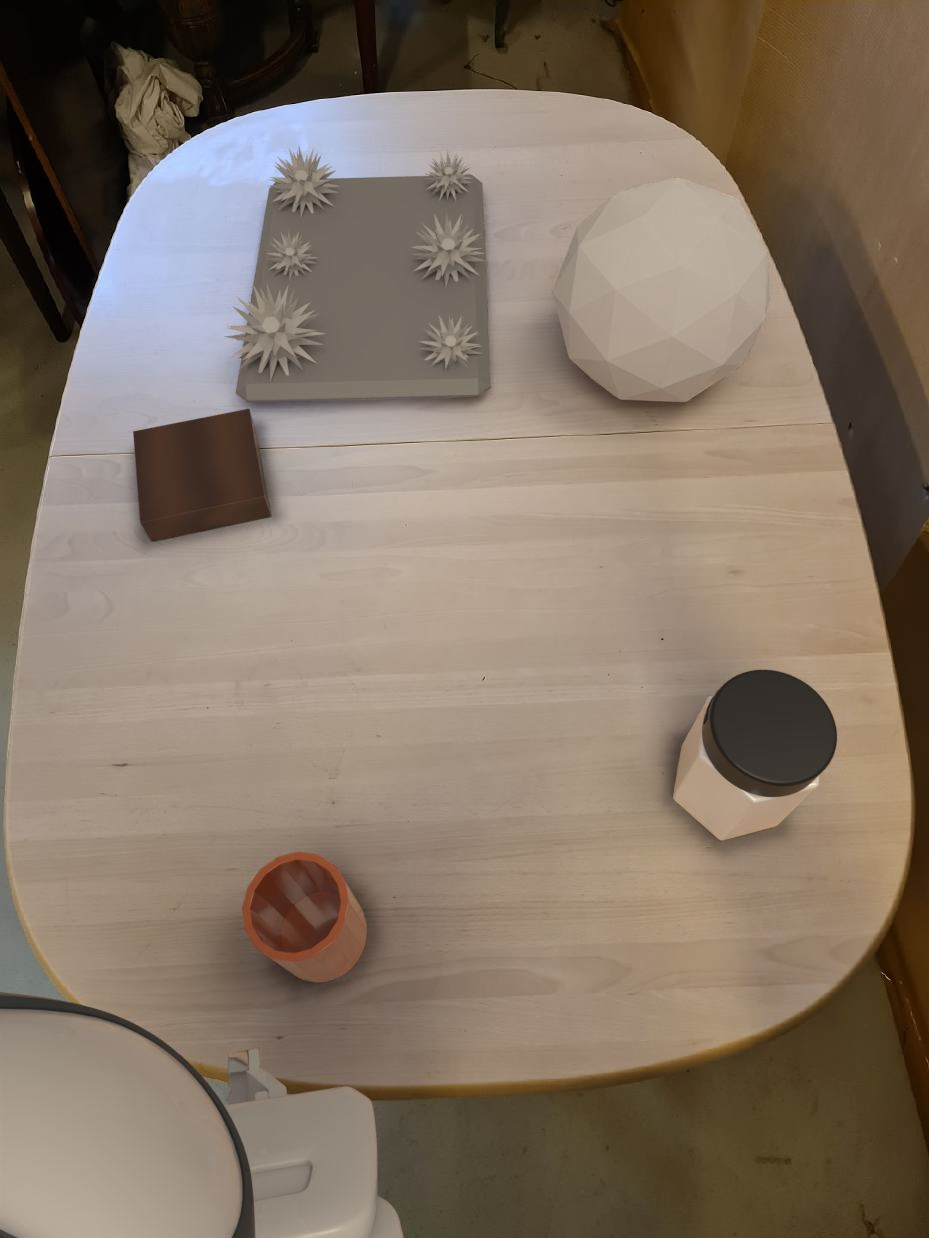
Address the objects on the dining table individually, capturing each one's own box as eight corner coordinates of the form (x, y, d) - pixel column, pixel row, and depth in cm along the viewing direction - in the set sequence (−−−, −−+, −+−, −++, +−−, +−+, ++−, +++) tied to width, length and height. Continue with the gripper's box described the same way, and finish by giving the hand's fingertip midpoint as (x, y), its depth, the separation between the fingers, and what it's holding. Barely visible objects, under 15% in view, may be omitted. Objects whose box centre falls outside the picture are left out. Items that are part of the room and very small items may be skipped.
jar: (760, 723, 68) (810, 654, 58) (804, 821, 64) (867, 765, 54) (653, 749, 67) (684, 684, 57) (692, 850, 63) (733, 800, 53)
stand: (151, 542, 78) (140, 522, 75) (143, 452, 83) (132, 431, 81) (271, 516, 79) (264, 496, 76) (256, 429, 84) (249, 408, 82)
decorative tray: (490, 409, 85) (491, 330, 76) (232, 416, 85) (203, 338, 77) (482, 192, 102) (482, 107, 94) (267, 197, 103) (247, 114, 94)
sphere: (658, 388, 95) (792, 229, 84) (679, 479, 80) (847, 299, 69) (517, 293, 90) (640, 108, 79) (511, 370, 74) (663, 155, 63)
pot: (283, 993, 59) (249, 973, 50) (271, 900, 62) (236, 866, 53) (375, 968, 59) (356, 944, 51) (358, 878, 63) (338, 841, 54)
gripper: (420, 1222, 29) (361, 987, 42) (-300, 1369, 24) (-111, 1048, 37) (416, 1377, 30) (360, 1101, 43) (-274, 1551, 25) (-99, 1176, 38)
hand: (139, 1077), depth 40 cm, fingers open, 8 cm apart
